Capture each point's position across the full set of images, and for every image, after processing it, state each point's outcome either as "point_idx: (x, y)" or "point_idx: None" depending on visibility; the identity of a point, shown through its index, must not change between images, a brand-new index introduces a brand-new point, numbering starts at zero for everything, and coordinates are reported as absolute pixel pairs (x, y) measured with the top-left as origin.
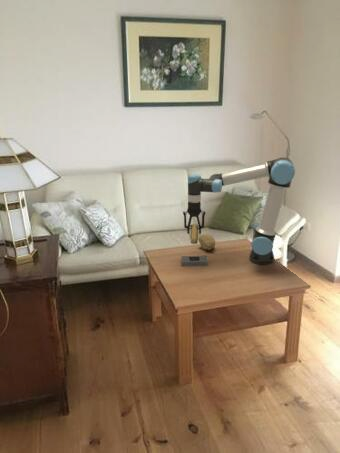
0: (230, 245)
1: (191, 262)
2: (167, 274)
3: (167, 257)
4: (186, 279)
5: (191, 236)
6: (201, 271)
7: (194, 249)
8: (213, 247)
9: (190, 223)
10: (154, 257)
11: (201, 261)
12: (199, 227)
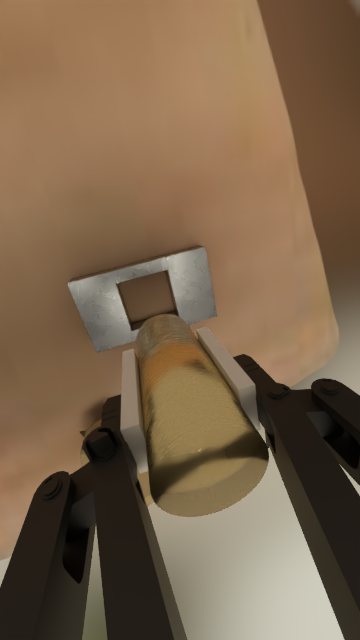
0: None
1: (155, 259)
2: (251, 122)
3: (268, 319)
4: (140, 55)
5: (197, 343)
6: (83, 193)
7: None
8: (83, 434)
9: (299, 474)
10: (316, 306)
11: (103, 276)
12: (115, 458)
